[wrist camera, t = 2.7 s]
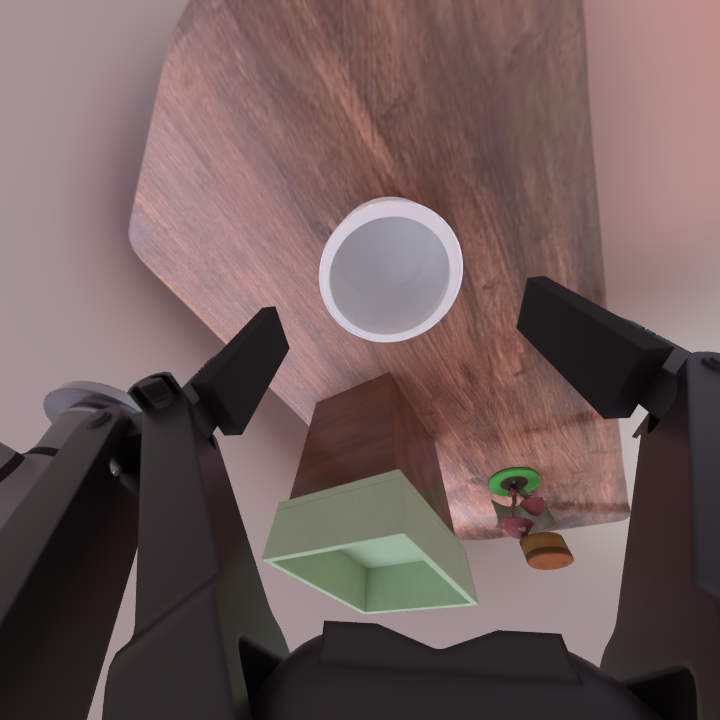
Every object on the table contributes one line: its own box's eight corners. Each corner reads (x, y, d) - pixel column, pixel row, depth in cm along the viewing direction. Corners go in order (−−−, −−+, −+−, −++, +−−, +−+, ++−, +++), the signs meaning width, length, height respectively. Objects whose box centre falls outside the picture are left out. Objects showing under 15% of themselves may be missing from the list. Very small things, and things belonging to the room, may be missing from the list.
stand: (434, 442, 51) (457, 547, 36) (369, 462, 56) (366, 561, 41) (388, 372, 42) (395, 474, 27) (316, 403, 47) (287, 504, 32)
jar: (415, 176, 27) (448, 167, 15) (436, 269, 32) (473, 320, 20) (326, 217, 30) (290, 240, 17) (359, 297, 35) (349, 358, 23)
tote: (465, 548, 36) (479, 605, 31) (365, 563, 42) (363, 614, 37) (399, 468, 26) (404, 533, 22) (278, 502, 32) (260, 560, 27)
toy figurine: (477, 472, 56) (505, 553, 44) (540, 461, 53) (590, 545, 40) (485, 499, 62) (512, 577, 50) (542, 490, 59) (587, 572, 46)
